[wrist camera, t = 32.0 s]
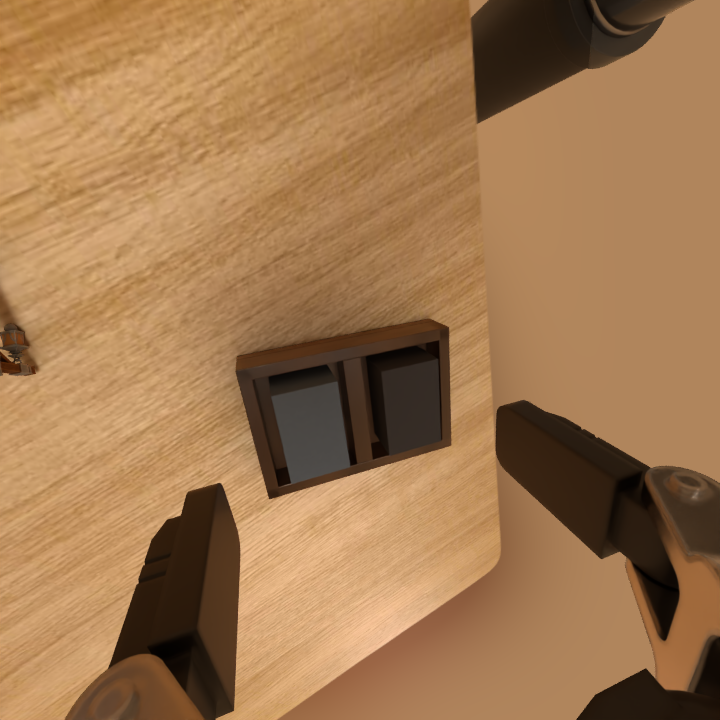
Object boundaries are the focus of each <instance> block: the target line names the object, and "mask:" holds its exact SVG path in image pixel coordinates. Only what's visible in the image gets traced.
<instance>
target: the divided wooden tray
mask: <svg viewBox="0 0 720 720" xmlns="http://www.w3.org/2000/svg"><path fill="white" fill-rule="evenodd" d="M413 346H418V347H420V348H421V349H423V350H425V351H426V352H428V353H429V354H431V355H433V356H434V357H436V358H437V359H438V369H439V397H440V425H441V441H440V442H437V443H433V444H430V445H426V446H423V447H419V448H416V449H412V450H409V451H406V452H402V453H399V454H395V455H392V456H389V454H388V453H387V451H386V450H385V448H384V446H383V445H382V443H381V442H380V440H379V439H378V437H377V436H376V434H375V431H374V423H373V414H372V405H371V397H370V388H369V380H368V371H367V362H366V357H367V356H371V355H376V354H380V353H385V352H390V351H394V350H399V349H404V348H408V347H413ZM322 365H328V367H329V369H330V370H331V372H332V374H333V375H334V377H335V378H336V380H337V382H338V388H339V394H340V401H341V407H342V414H343V421H344V427H345V434H346V440H347V447H348V454H349V460H350V467H349V468H346V469H342V470H339V471H335V472H332V473H328V474H325V475H322V476H318V477H315V478H311V479H308V480H304V481H301V482H297V483H294V484H291V481H290V476H289V472H288V468H287V463H286V459H285V455H284V450H283V446H282V442H281V437H280V433H279V429H278V424H277V420H276V416H275V411H274V407H273V403H272V399H271V392H270V385H269V377H271V376H275V375H280V374H285V373H289V372H294V371H298V370H303V369H308V368H312V367H317V366H322ZM236 375H237V379H238V382H239V386H240V390H241V394H242V398H243V402H244V405H245V409H246V413H247V417H248V421H249V424H250V428H251V432H252V436H253V440H254V444H255V447H256V451H257V455H258V459H259V463H260V466H261V470H262V474H263V478H264V482H265V485H266V489H267V493H268V497H269V499H272V498H276V497H279V496H282V495H285V494H289V493H292V492H296V491H299V490H302V489H306V488H309V487H313V486H316V485H319V484H323V483H326V482H330V481H333V480H336V479H340V478H343V477H347V476H350V475H353V474H357V473H360V472H364V471H367V470H370V469H374V468H377V467H381V466H384V465H387V464H391V463H394V462H397V461H401V460H404V459H408V458H411V457H414V456H418V455H421V454H425V453H428V452H431V451H435V450H438V449H442V448H445V447H448V446H451V409H450V361H449V327H447V326H445V325H443V324H441V323H438V322H436V321H434V320H432V319H425V320H420V321H415V322H410V323H405V324H400V325H395V326H390V327H385V328H379V329H374V330H369V331H364V332H359V333H354V334H349V335H344V336H338V337H333V338H328V339H323V340H318V341H313V342H308V343H303V344H297V345H292V346H287V347H282V348H277V349H272V350H267V351H262V352H256V353H251V354H246V355H241V356H237V362H236Z"/></svg>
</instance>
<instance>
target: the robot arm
mask: <svg viewBox="0 0 720 720" xmlns="http://www.w3.org/2000/svg"><path fill="white" fill-rule="evenodd" d="M584 1H585V5H586V8H587V10H588V13H589V15H590V17H591V19H592V20H593V22H594V23H595V25H596V26H597V27H598V28H599V29H600V30H601V31H602V32H603V33H605V34H606V35H608V36H611V37H614V38H624V37H628V36H631V35H633V34H635V33H637V32H639V31H640V30H642V29H644V28H646V27H647V26H649V25H650V24H651V23H653V22H654V21H656V20H658V19H660V18H662V17H664V16H666V15H667V14H669V13H671V12H673V11H675V10H677V9H679V8H680V7H682V6H684V5H686V4H688V3H690V2H692V1H694V0H584ZM496 455H497V458H498V460H499V462H500V464H501V466H502V467H503V468H504V469H505V471H506V472H508V473H509V474H510V475H511V476H512V477H513V478H514V479H515V480H516V481H517V482H518V483H519V484H521V485H522V486H523V487H524V488H525V489H526V490H527V491H528V492H529V493H530V494H531V495H532V496H533V497H535V498H536V499H537V500H538V501H539V502H540V503H541V504H542V505H543V506H544V507H545V508H546V509H548V510H549V511H550V512H551V513H552V514H553V515H554V516H555V517H556V518H557V519H558V520H559V521H561V522H562V523H563V524H564V525H565V526H566V527H567V528H568V529H569V530H570V531H571V532H572V533H573V534H575V535H576V536H577V537H578V538H579V539H580V540H581V541H582V542H583V543H584V544H585V545H586V546H588V547H589V548H590V549H591V550H592V551H593V552H594V553H595V554H596V555H597V556H598V557H599V558H601V559H603V558H605V557H608V556H610V555H613V554H615V553H617V552H621V553H622V554H623V555H625V556H626V557H627V558H626V562H625V568H626V572H627V575H628V578H629V581H630V584H631V587H632V590H633V593H634V596H635V599H636V602H637V605H638V608H639V611H640V614H641V617H642V620H643V623H644V626H645V629H646V632H647V635H648V638H649V641H650V644H651V647H652V651H653V655H654V660H655V678H654V677H653V676H652V675H651V673H650V672H649V671H648V670H647V669H644V670H642V671H640V672H638V673H636V674H634V675H632V676H630V677H628V678H626V679H625V680H623V681H621V682H619V683H617V684H615V685H613V686H611V687H609V688H607V689H605V690H604V691H602V692H600V693H598V694H596V695H595V696H594V697H593V699H592V700H591V701H590V702H589V704H588V705H587V706H586V708H585V709H584V710H583V712H582V713H581V714H580V716H579V717H578V718H577V720H720V483H718V482H717V481H715V480H713V479H712V478H710V477H708V476H706V475H703V474H701V473H698V472H696V471H692V470H689V469H685V468H681V467H674V466H658V467H654V468H650V467H649V466H647V465H645V464H643V463H641V462H640V461H638V460H637V459H635V458H633V457H631V456H630V455H628V454H626V453H625V452H623V451H621V450H619V449H618V448H616V447H614V446H612V445H611V444H609V443H607V442H606V441H604V440H602V439H600V438H596V437H595V435H593V434H592V433H590V432H588V431H587V430H585V429H583V430H582V429H581V427H580V426H578V425H576V424H574V423H573V422H571V421H569V420H568V419H566V418H564V417H561V416H558V415H555V414H552V413H548V412H545V411H543V410H542V409H540V408H538V407H537V406H535V405H533V404H532V403H529V402H528V401H525V400H521V401H518V402H514V403H510V404H507V405H503V406H500V407H499V408H498V410H497V419H496ZM239 575H240V542H239V535H238V531H237V527H236V524H235V521H234V518H233V515H232V512H231V509H230V506H229V503H228V500H227V497H226V494H225V491H224V488H223V486H222V484H221V483H217V484H214V485H210V486H207V487H203V488H199V489H196V490H192V491H189V492H188V493H187V495H186V498H185V502H184V506H183V510H182V514H181V516H178V517H175V518H171V519H168V520H166V522H165V523H164V524H163V526H162V527H161V528H160V530H159V531H158V532H157V534H156V535H155V536H154V538H153V539H152V540H151V543H150V546H149V549H148V552H147V555H146V558H145V565H144V566H143V567H142V570H141V573H140V576H139V579H138V580H139V584H137V585H136V588H135V591H134V594H133V597H132V600H131V603H130V606H129V609H128V612H127V615H126V618H125V621H124V624H123V627H122V630H121V633H120V636H119V639H118V642H117V645H116V648H115V651H114V654H113V657H112V660H111V662H110V665H109V667H108V669H107V670H106V671H105V672H104V673H102V674H101V675H100V676H99V677H98V678H97V679H95V680H94V681H93V682H92V683H91V684H90V685H89V686H88V688H87V689H86V690H85V691H84V692H83V693H82V694H81V696H80V697H79V698H78V700H77V701H76V702H75V704H74V705H73V706H72V708H71V710H70V711H69V713H68V715H67V716H66V718H65V720H215V718H218V717H220V716H223V715H225V714H227V713H230V712H232V711H234V698H235V673H236V649H237V624H238V599H239Z"/></svg>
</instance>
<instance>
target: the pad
mask: <svg viewBox="0 0 720 720" xmlns="http://www.w3.org/2000/svg"><path fill="white" fill-rule="evenodd" d="M269 385H270V392H271V399H272V403H273V407H274V411H275V416H276V420H277V424H278V429H279V433H280V437H281V442H282V446H283V450H284V455H285V459H286V463H287V468H288V472H289V476H290V481H291V484H294V483H297V482H301V481H304V480H308V479H311V478H315V477H318V476H322V475H325V474H328V473H332V472H335V471H339V470H342V469H346V468H349V467H350V460H349V454H348V447H347V440H346V434H345V427H344V421H343V414H342V407H341V401H340V394H339V388H338V382H337V380H336V378H335V377H334V375H333V374H332V372H331V370H330V369H329V367H328V365H322V366H317V367H312V368H308V369H303V370H298V371H294V372H289V373H285V374H280V375H275V376H271V377H269Z"/></svg>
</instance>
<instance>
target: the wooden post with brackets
mask: <svg viewBox="0 0 720 720" xmlns="http://www.w3.org/2000/svg"><path fill="white" fill-rule="evenodd" d="M4 330H5V331H4V332H0V336H1V339H2V342H3V347H0V349H3V350H7V351H10V352H9V353H11V354H12V355H8V356H9V357H12V358H13V359H14V361H13V362H11V361H10V360H9V359H8V358H7V357H5V356H4V355H3V354H2V353H1V352H0V376H2V375H3V374H2V373H9V375H14V376H19V375H21V376H22V375H24V376H27V375H32V374H36V373H35V368H34V366H28V364H22V362H21V360H20V358H19V357H21V356H24V355H22V354H19V353H22V352H20V351H21V350H24V349H26V348H29V346H25V345H24V339H23V335H24V333H25V332H22V331H17V327H16V326H15V325H14V324H7V325H6V326H5V327H4ZM15 358H18V359H15ZM15 361H17V362H18V361H20V363H19V364H15Z"/></svg>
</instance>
